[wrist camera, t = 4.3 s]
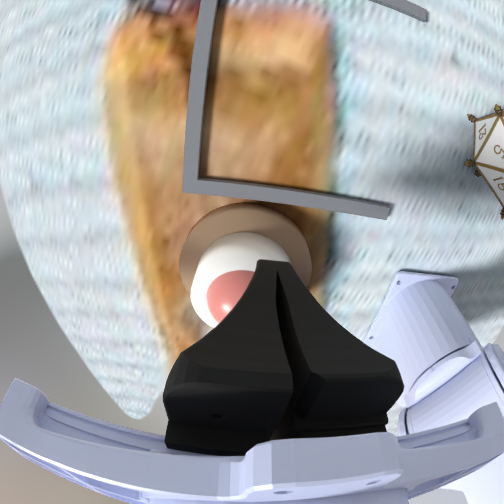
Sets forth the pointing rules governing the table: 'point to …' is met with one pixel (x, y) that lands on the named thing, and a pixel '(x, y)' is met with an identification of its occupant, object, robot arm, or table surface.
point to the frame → (245, 189)
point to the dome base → (245, 220)
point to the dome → (229, 272)
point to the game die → (490, 151)
